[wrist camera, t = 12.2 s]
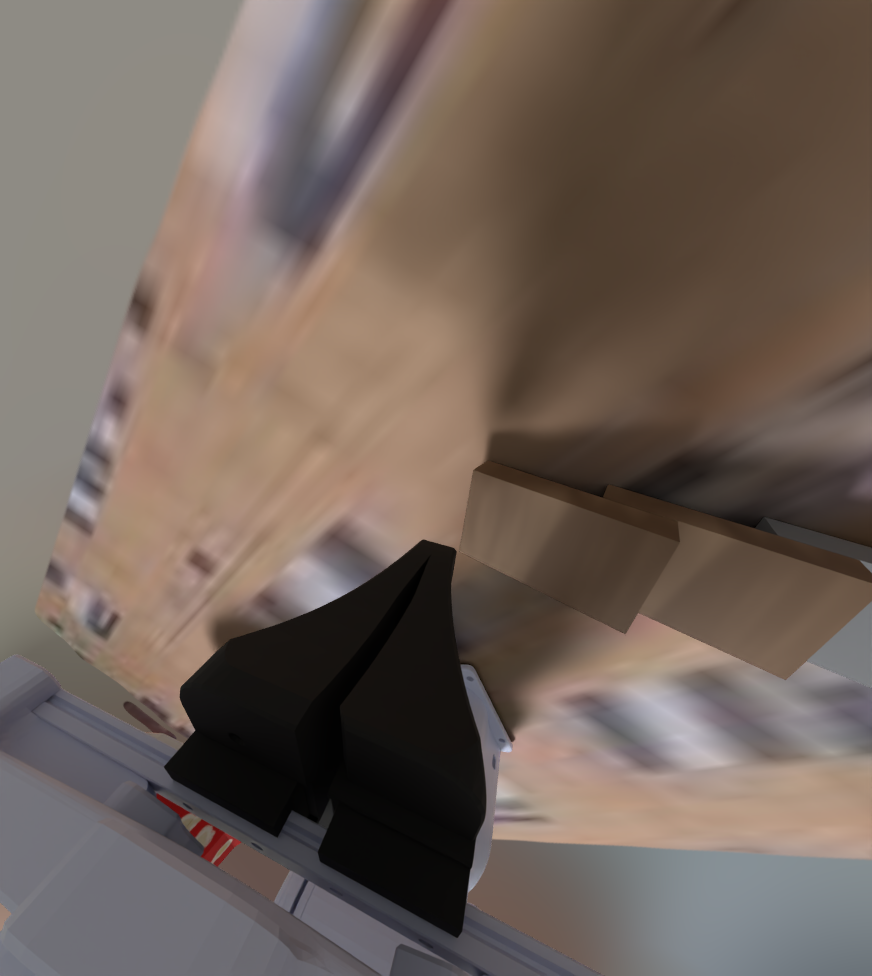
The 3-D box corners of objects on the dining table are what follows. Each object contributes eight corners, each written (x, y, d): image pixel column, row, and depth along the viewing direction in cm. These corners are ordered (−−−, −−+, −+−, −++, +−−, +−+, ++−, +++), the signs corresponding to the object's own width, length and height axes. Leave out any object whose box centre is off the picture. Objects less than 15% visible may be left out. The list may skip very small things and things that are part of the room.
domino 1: (488, 460, 15) (677, 522, 12) (472, 537, 18) (628, 609, 14) (473, 470, 14) (680, 542, 10) (459, 551, 16) (625, 634, 13)
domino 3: (763, 516, 13) (1092, 610, 10) (702, 597, 15) (950, 695, 12) (777, 535, 12) (1160, 651, 8) (708, 620, 14) (988, 736, 11)
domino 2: (608, 484, 14) (859, 560, 11) (575, 563, 16) (773, 648, 13) (603, 496, 13) (886, 587, 9) (568, 581, 15) (785, 680, 12)
